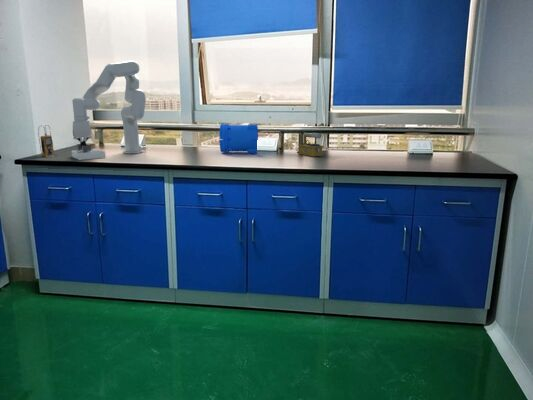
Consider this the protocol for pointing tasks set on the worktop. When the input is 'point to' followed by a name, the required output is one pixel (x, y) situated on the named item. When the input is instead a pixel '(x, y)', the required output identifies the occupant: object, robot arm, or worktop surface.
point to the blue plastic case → (238, 138)
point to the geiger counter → (310, 146)
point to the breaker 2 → (84, 149)
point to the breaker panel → (88, 154)
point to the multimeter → (46, 145)
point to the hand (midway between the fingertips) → (83, 148)
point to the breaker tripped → (88, 147)
